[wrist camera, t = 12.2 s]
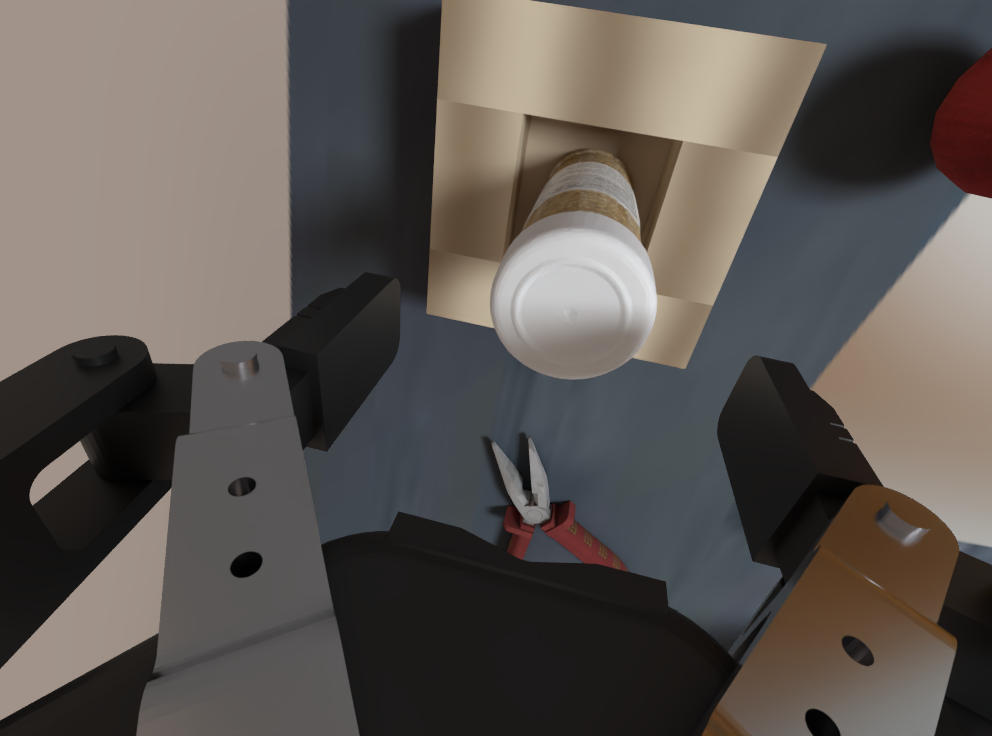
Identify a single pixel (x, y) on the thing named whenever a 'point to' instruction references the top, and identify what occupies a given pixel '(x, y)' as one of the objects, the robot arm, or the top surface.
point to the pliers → (546, 515)
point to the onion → (967, 130)
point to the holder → (605, 142)
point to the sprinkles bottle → (577, 274)
